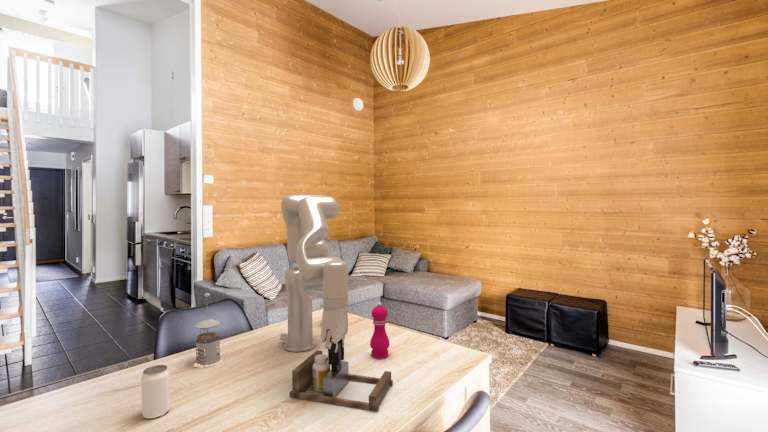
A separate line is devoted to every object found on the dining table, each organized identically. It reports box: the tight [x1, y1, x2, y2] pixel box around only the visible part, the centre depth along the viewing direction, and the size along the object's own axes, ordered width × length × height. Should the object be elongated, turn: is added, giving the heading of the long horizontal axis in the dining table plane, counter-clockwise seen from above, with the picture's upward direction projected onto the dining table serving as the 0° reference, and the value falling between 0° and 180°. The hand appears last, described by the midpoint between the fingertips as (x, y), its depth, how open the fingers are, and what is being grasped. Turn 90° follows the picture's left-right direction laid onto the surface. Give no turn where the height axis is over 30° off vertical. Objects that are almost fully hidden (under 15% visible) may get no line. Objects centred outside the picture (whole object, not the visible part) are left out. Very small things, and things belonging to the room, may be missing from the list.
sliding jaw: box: [322, 342, 350, 398], centre depth 113 cm, size 3×12×14 cm, turn 163°
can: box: [140, 364, 171, 417], centre depth 101 cm, size 6×6×12 cm
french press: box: [194, 292, 222, 366], centre depth 134 cm, size 10×12×25 cm
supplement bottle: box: [312, 353, 331, 393], centre depth 114 cm, size 5×5×10 cm
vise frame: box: [288, 350, 394, 413], centre depth 112 cm, size 27×16×8 cm, turn 73°
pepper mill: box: [369, 301, 390, 360], centre depth 138 cm, size 7×7×20 cm
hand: (336, 361), depth 113 cm, fingers closed on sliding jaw, 3 cm apart
